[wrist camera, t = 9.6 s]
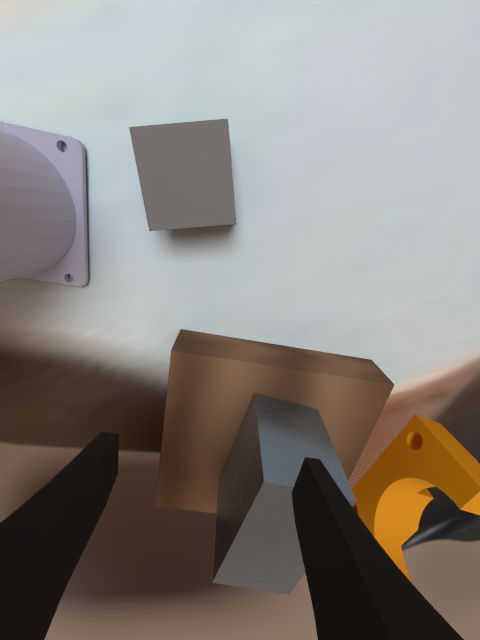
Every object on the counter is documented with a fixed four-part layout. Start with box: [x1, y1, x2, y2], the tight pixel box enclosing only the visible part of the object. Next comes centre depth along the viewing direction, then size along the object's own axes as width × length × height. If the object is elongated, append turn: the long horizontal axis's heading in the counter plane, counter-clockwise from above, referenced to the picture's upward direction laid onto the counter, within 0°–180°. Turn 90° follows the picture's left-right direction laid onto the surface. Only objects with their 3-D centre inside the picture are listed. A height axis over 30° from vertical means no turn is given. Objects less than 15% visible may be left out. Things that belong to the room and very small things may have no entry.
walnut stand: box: [155, 329, 394, 513], centre depth 20 cm, size 14×14×3 cm
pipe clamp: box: [352, 414, 480, 583], centre depth 21 cm, size 12×4×6 cm, turn 157°
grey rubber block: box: [129, 119, 236, 231], centre depth 13 cm, size 4×4×4 cm
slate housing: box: [212, 393, 356, 594], centre depth 16 cm, size 4×9×6 cm, turn 162°
